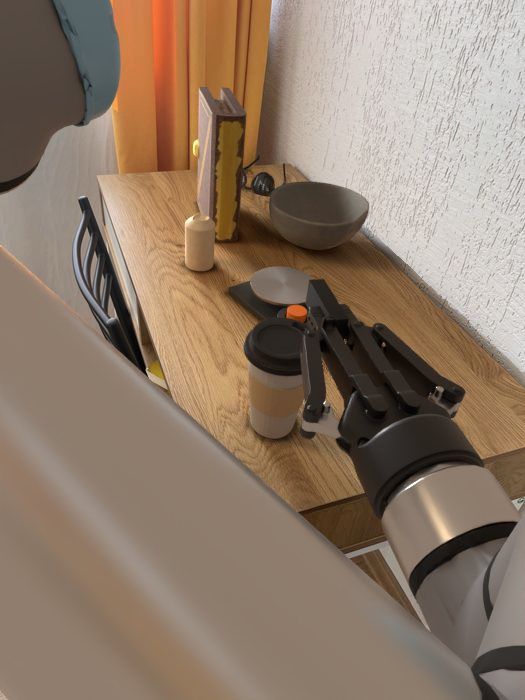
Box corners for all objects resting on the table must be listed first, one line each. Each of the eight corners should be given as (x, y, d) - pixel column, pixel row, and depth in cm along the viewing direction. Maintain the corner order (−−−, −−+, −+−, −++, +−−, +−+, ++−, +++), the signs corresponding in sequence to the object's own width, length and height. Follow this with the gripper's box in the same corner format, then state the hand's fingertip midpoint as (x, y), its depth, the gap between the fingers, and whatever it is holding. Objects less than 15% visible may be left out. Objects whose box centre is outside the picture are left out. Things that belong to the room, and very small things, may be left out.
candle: (186, 256, 104) (186, 208, 97) (214, 258, 104) (216, 210, 98) (183, 270, 100) (183, 221, 93) (212, 272, 100) (214, 224, 94)
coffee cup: (310, 406, 75) (328, 322, 65) (299, 457, 68) (317, 370, 58) (246, 392, 76) (255, 307, 66) (228, 440, 69) (235, 352, 59)
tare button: (282, 316, 86) (283, 308, 85) (296, 311, 88) (298, 302, 87) (294, 327, 85) (296, 318, 83) (309, 321, 86) (311, 312, 85)
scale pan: (236, 280, 93) (236, 277, 93) (288, 263, 99) (288, 260, 99) (279, 314, 86) (279, 311, 86) (331, 294, 92) (332, 291, 92)
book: (244, 241, 111) (254, 116, 95) (204, 242, 109) (207, 115, 93) (226, 197, 127) (232, 84, 111) (190, 197, 125) (191, 82, 109)
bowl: (290, 212, 123) (295, 170, 117) (371, 238, 117) (382, 195, 111) (247, 246, 109) (251, 200, 103) (338, 277, 103) (348, 230, 96)
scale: (227, 293, 95) (228, 279, 93) (286, 273, 102) (288, 259, 100) (291, 347, 85) (294, 332, 83) (352, 320, 92) (356, 306, 90)
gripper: (326, 548, 34) (245, 328, 51) (501, 514, 37) (369, 317, 54) (346, 475, 29) (250, 260, 46) (545, 443, 32) (385, 252, 49)
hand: (314, 291), depth 50 cm, fingers closed
